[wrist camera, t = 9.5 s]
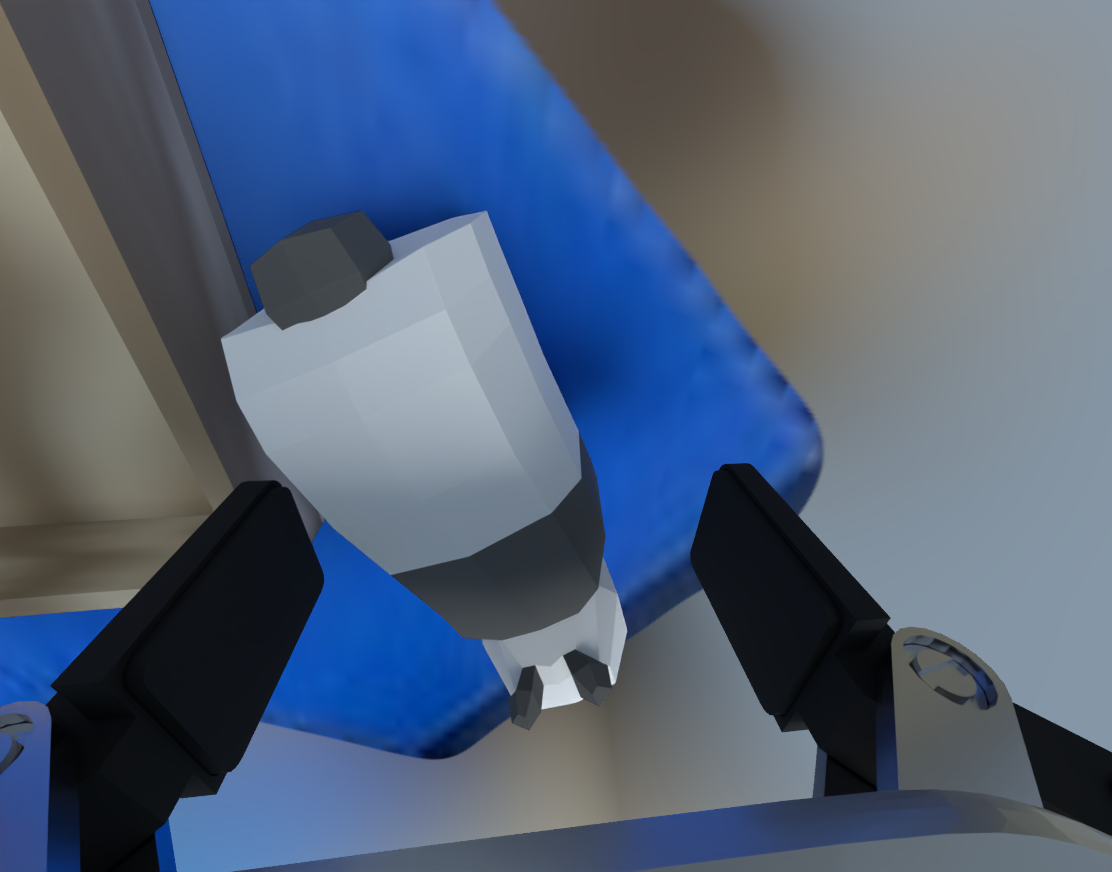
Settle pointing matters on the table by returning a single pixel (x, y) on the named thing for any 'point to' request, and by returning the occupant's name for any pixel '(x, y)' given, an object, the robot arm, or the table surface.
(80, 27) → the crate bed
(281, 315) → the giant panda
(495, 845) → the robot arm
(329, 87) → the table surface
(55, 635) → the table surface
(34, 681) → the table surface
